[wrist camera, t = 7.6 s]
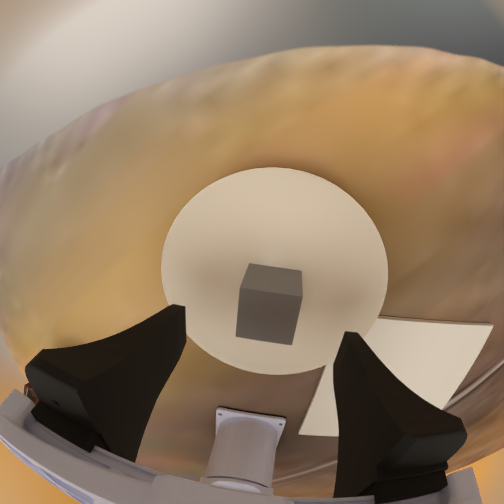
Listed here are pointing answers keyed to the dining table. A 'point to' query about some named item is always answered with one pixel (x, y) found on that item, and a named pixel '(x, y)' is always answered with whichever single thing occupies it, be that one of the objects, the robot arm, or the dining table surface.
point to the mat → (407, 363)
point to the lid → (274, 270)
